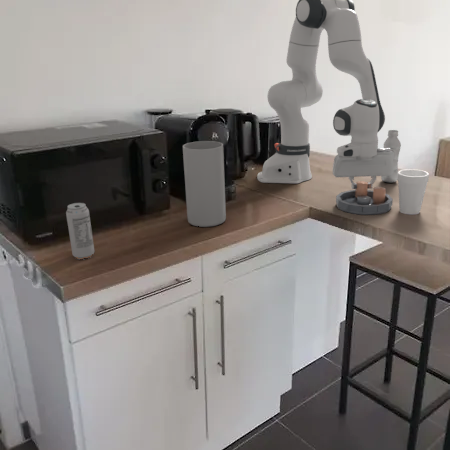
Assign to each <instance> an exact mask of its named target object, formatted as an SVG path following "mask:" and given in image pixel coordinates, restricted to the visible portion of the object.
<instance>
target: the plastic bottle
mask: <svg viewBox="0 0 450 450" xmlns="http://www.w3.org/2000/svg"><path fill="white" fill-rule="evenodd" d="M387 131H388V132H387V136H388V137H387V138H386V139H385V140H384V142H383V149H387V148H390V149H391V150H393V151H394V152H395V157H394V160H393V167H394V171H393V174H392V175H391V176H380V179H381V181H382V182H385V183H396V182H398V180H397V178H398V171H399V169H398V167H399V155H400V152H401V148H402V147H401V146H402V144H401V141H400V139H399V138H398V137H399V131H398V130H397V129H393V130H392V129H390V130H387Z"/></svg>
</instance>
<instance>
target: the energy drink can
mask: <svg viewBox="0 0 450 450" xmlns="http://www.w3.org/2000/svg"><path fill="white" fill-rule="evenodd" d="M65 214H66V215H65V216H66V222H67V226H68V227H67V228H68V234H69V240H70V247H71V253H72V256H73V257H74V258H75V257H78V258H83V257H88V256H91V255H92V254H93V255H94V253H95V245H94V238H93V237H94V236H93V230H92V225H91V217H90V216H91V215H90V210H89V208H88V207H87V206H86V203H84V202H74V203H71V204H70V203H69V204H68V205H67V210H66V211H65Z"/></svg>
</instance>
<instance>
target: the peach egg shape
mask: <svg viewBox="0 0 450 450" xmlns="http://www.w3.org/2000/svg"><path fill="white" fill-rule="evenodd" d="M372 191H373V204H376V205H378V204H382V203H385V194H387V192H386V191H387V188H385V187H381V186H376V187H373V188H372Z"/></svg>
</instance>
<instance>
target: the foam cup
mask: <svg viewBox="0 0 450 450" xmlns="http://www.w3.org/2000/svg"><path fill="white" fill-rule="evenodd" d="M429 178H430V173H429V172H428V171H425V170H422V169H413V168H411V169H409V168H408V169H400V170H398V178H397V185H398V205H399V206H398V207H399V212H400V213H402V214H404V215H410V216H411V215H418V214H419V213H421V209H422V205H423V201H424V197H425V193H426V190H427V184H428V182H429Z"/></svg>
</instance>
